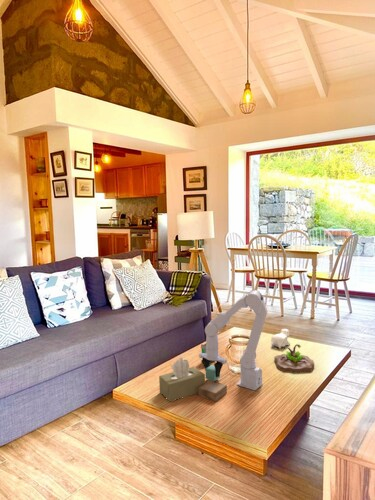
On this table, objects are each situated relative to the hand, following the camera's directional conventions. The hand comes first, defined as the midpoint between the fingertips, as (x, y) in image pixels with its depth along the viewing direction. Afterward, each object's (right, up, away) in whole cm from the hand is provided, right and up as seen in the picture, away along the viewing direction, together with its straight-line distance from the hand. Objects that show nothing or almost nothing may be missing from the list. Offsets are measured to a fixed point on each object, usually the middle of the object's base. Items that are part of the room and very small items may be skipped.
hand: (212, 374), depth 173 cm
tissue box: (-14, -4, -10) cm, 18 cm away
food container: (+1, -1, +25) cm, 25 cm away
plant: (+44, -1, +16) cm, 47 cm away
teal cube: (0, -1, 0) cm, 1 cm away
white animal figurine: (+45, +2, +45) cm, 63 cm away
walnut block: (-1, -4, -13) cm, 14 cm away
